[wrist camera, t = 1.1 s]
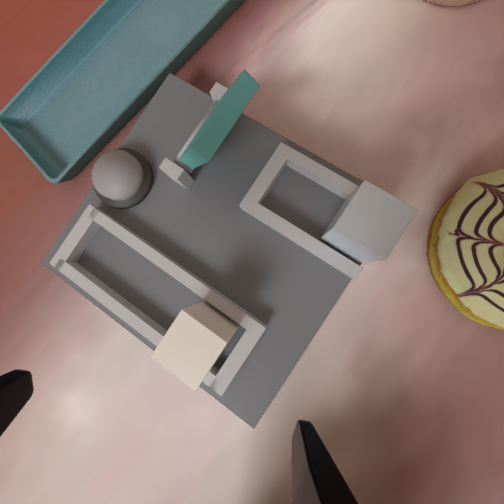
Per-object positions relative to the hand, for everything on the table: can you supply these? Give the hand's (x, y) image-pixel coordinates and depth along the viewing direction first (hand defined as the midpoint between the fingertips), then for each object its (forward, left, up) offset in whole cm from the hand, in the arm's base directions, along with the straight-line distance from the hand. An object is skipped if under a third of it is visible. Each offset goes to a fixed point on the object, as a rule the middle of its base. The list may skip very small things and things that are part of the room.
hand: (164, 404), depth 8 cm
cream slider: (+1, 0, -9) cm, 9 cm away
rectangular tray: (+21, -15, -12) cm, 28 cm away
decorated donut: (-13, -16, -12) cm, 24 cm away
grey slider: (-3, -11, -9) cm, 14 cm away
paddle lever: (+9, -11, -8) cm, 16 cm away
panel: (+5, -5, -11) cm, 13 cm away
